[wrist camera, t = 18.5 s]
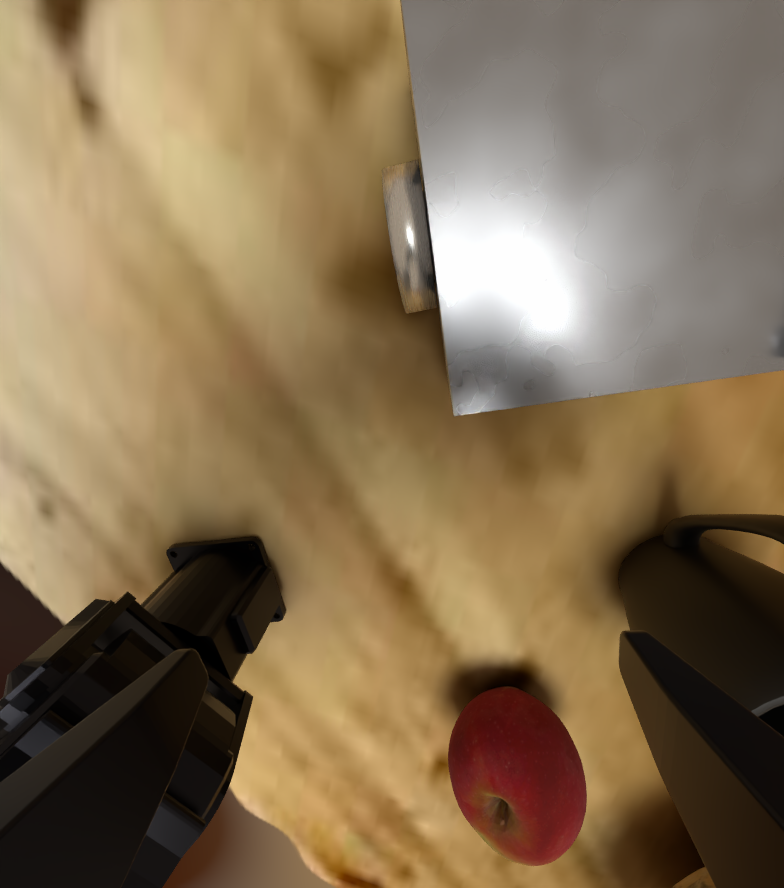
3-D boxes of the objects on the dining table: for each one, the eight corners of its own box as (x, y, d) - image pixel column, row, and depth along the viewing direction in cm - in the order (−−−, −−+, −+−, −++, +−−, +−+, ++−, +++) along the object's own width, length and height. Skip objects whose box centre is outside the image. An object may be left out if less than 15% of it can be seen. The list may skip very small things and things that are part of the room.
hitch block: (447, 382, 18) (455, 423, 12) (410, 85, 15) (389, -97, 8) (686, 345, 17) (848, 369, 10) (715, -4, 13) (1012, -333, 6)
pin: (410, 312, 17) (401, 314, 12) (392, 191, 15) (374, 143, 11) (793, 240, 14) (958, 209, 10) (819, 86, 13) (1028, -33, 8)
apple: (541, 647, 24) (589, 802, 16) (572, 728, 26) (627, 896, 19) (431, 669, 26) (430, 818, 18) (470, 744, 28) (483, 903, 20)
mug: (770, 433, 18) (1108, 560, 9) (743, 623, 22) (959, 844, 13) (589, 458, 19) (724, 589, 10) (594, 632, 23) (695, 837, 14)
